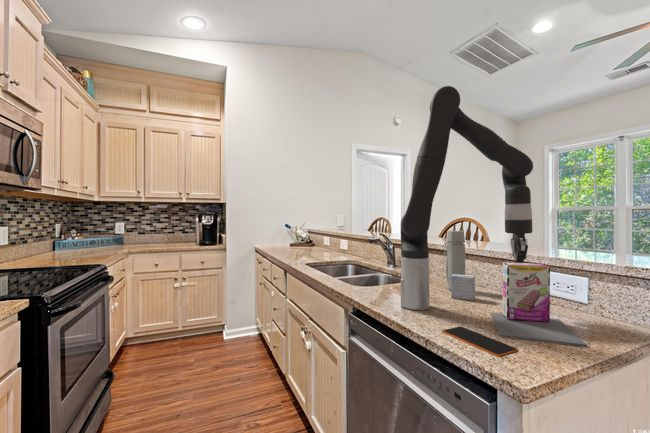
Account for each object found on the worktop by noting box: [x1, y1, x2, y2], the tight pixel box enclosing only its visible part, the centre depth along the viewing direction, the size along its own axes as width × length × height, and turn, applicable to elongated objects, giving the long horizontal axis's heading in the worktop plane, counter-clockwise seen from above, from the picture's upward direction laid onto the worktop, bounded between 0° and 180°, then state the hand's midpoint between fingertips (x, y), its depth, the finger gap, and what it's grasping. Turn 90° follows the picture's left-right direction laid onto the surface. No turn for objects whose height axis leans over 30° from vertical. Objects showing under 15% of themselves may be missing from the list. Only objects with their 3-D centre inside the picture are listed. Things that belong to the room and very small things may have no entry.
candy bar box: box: [502, 262, 551, 322], centre depth 90 cm, size 11×5×16 cm, turn 76°
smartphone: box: [441, 326, 519, 358], centre depth 77 cm, size 8×17×1 cm, turn 25°
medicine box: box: [450, 274, 476, 301], centre depth 116 cm, size 8×4×9 cm, turn 58°
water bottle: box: [441, 230, 466, 291], centre depth 129 cm, size 9×8×25 cm
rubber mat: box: [490, 312, 588, 348], centre depth 84 cm, size 18×19×1 cm
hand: (519, 271), depth 98 cm, fingers closed
